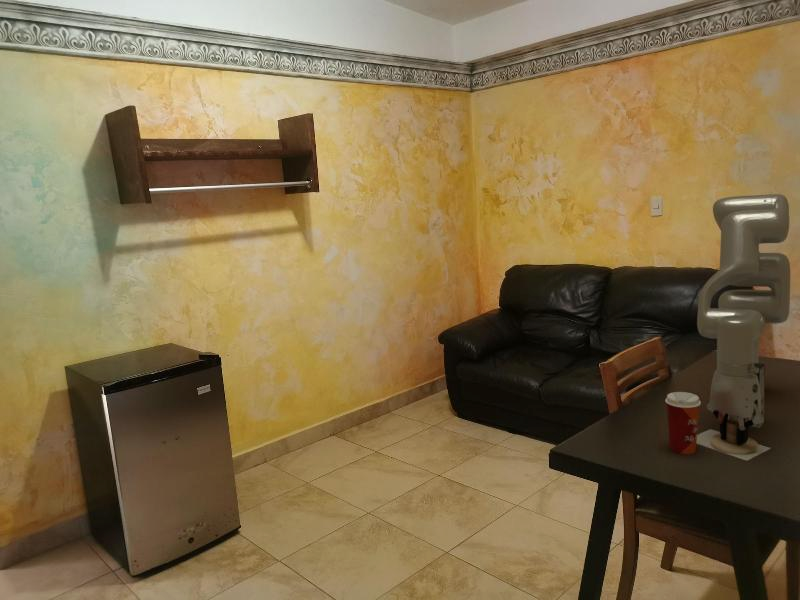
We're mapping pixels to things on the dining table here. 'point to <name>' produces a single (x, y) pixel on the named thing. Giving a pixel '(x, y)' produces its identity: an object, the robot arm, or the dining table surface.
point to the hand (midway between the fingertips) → (733, 440)
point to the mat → (705, 441)
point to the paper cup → (683, 421)
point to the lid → (733, 441)
